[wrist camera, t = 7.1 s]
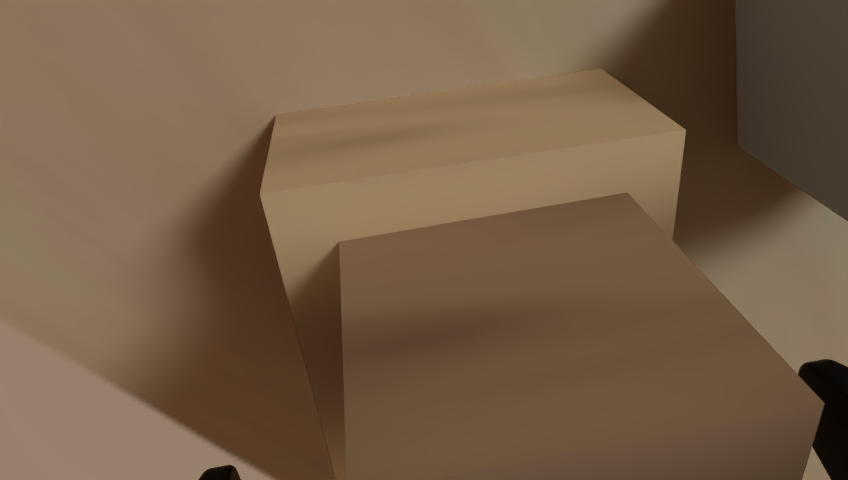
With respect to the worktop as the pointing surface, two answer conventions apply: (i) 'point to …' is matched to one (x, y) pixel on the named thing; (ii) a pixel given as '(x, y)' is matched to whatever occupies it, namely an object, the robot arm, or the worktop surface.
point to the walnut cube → (557, 356)
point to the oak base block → (446, 183)
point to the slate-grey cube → (796, 92)
